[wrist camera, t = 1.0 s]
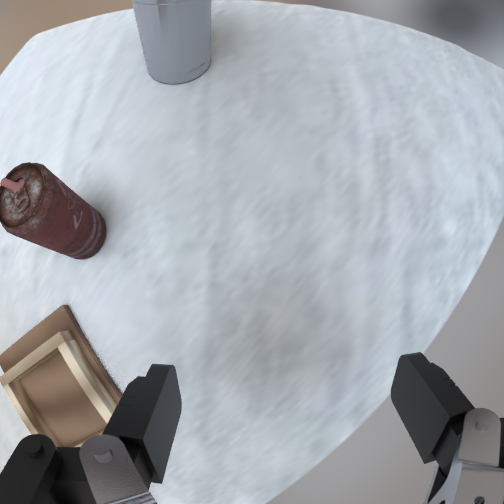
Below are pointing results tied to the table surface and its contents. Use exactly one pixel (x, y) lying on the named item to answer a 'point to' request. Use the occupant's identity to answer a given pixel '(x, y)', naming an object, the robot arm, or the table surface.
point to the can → (49, 212)
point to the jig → (59, 382)
